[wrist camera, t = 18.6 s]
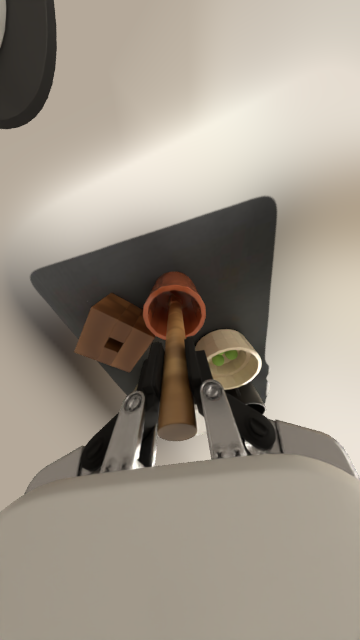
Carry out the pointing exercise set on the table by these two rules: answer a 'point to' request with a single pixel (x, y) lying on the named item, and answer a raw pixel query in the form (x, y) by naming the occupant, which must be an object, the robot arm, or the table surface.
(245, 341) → the mixing bowl
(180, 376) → the wooden dowel peg
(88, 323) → the holder
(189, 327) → the crock
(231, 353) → the pea
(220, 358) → the pea
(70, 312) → the table surface
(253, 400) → the mug
